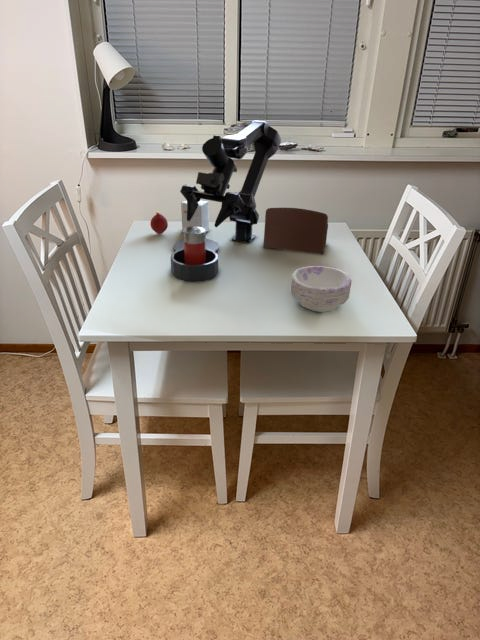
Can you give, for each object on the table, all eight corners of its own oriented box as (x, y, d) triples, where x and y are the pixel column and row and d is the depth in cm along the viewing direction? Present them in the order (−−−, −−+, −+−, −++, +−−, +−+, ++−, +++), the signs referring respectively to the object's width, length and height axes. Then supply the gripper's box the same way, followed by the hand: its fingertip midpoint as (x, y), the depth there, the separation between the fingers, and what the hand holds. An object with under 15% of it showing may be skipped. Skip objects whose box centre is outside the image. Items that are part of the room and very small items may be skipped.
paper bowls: (313, 285, 138) (316, 259, 134) (358, 304, 129) (363, 277, 125) (277, 302, 129) (279, 275, 124) (323, 324, 119) (327, 296, 115)
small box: (209, 230, 173) (209, 201, 168) (201, 235, 169) (201, 205, 164) (189, 226, 176) (188, 198, 171) (181, 231, 172) (180, 202, 166)
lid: (185, 238, 166) (185, 222, 164) (225, 244, 162) (225, 228, 159) (165, 253, 155) (164, 236, 152) (207, 261, 150) (207, 244, 148)
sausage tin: (199, 264, 147) (198, 224, 141) (209, 272, 143) (209, 231, 136) (181, 269, 144) (179, 228, 138) (191, 276, 140) (190, 235, 133)
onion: (169, 231, 171) (168, 209, 167) (166, 237, 166) (164, 215, 162) (153, 230, 172) (152, 208, 168) (149, 236, 167) (147, 214, 163)
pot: (184, 259, 151) (183, 244, 148) (224, 266, 147) (225, 251, 145) (163, 277, 140) (162, 261, 137) (206, 285, 136) (206, 269, 133)
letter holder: (323, 254, 157) (328, 212, 150) (263, 247, 161) (265, 206, 154) (326, 243, 165) (331, 202, 158) (268, 237, 169) (270, 197, 162)
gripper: (182, 155, 139) (161, 203, 136) (240, 164, 132) (220, 215, 129) (197, 177, 149) (178, 222, 146) (252, 186, 142) (233, 234, 139)
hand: (201, 223), depth 140 cm, fingers open, 9 cm apart
